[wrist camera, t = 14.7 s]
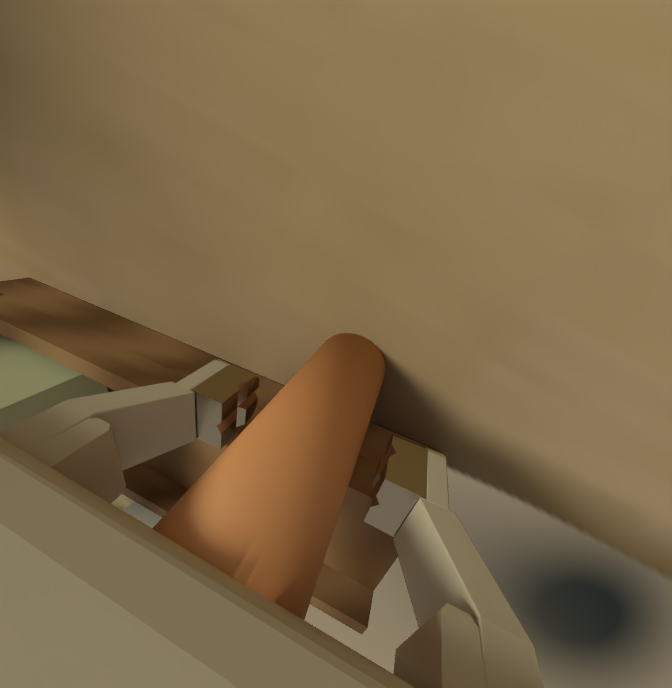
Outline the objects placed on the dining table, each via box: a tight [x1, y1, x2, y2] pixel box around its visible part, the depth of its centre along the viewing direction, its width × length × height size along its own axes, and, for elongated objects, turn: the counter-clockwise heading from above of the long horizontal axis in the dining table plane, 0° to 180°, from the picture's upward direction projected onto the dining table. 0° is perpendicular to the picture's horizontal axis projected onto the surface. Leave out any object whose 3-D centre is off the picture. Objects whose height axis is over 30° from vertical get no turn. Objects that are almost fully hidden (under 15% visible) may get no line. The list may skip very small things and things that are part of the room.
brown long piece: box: [0, 278, 442, 634], centre depth 13 cm, size 26×10×8 cm, turn 76°
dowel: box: [152, 333, 385, 620], centre depth 7 cm, size 3×3×10 cm
